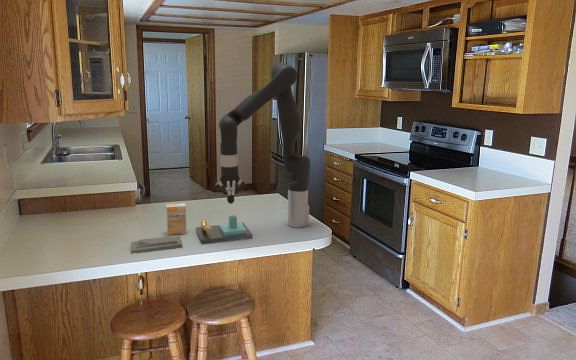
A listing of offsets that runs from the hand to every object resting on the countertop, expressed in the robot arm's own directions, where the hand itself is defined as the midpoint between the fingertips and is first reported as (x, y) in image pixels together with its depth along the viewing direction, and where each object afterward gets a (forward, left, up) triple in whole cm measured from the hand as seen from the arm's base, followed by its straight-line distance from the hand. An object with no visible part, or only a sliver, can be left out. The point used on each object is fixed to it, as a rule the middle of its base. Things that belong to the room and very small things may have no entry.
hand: (230, 203), depth 203 cm
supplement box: (+22, -10, -15) cm, 29 cm away
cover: (-1, 0, -13) cm, 13 cm away
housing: (+3, -1, -15) cm, 15 cm away
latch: (+11, 0, -12) cm, 16 cm away
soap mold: (+32, +4, -16) cm, 36 cm away
